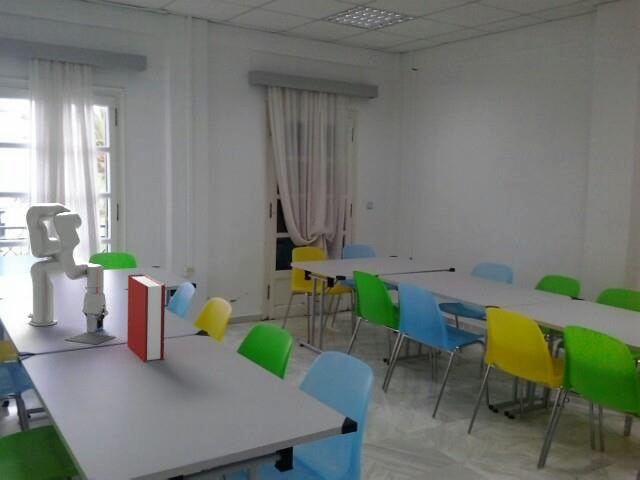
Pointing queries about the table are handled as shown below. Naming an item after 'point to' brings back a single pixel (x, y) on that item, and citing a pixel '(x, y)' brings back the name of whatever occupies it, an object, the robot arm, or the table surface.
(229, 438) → the table surface
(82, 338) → the charcoal rubber mat
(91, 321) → the medicine box
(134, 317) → the book
